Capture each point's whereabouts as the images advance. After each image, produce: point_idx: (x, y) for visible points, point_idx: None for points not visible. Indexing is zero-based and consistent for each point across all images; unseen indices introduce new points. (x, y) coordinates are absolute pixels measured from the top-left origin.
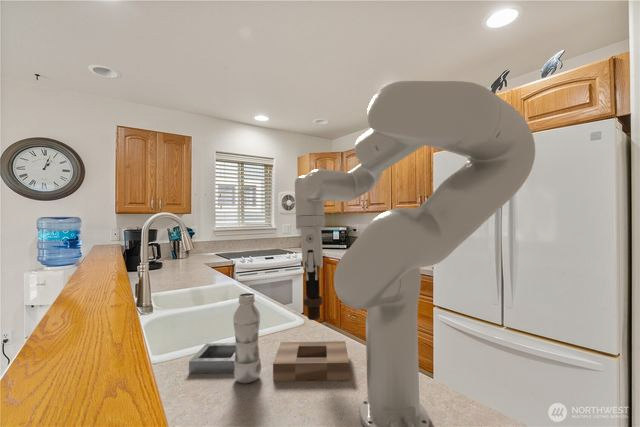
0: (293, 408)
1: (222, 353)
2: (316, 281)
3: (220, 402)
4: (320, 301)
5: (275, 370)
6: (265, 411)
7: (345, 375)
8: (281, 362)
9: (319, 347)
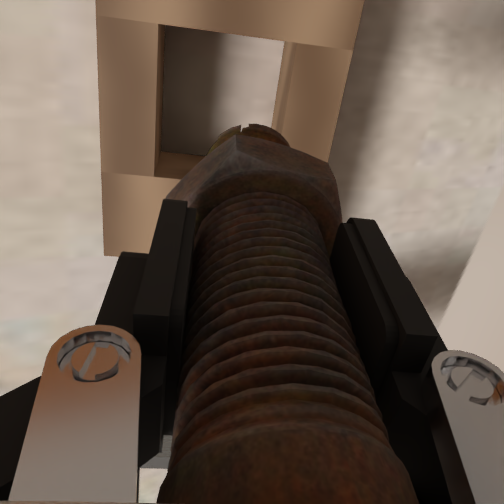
0: (455, 172)
1: None
2: (418, 347)
3: None
4: (332, 174)
5: None
6: (438, 244)
7: None
8: None
9: (157, 65)
